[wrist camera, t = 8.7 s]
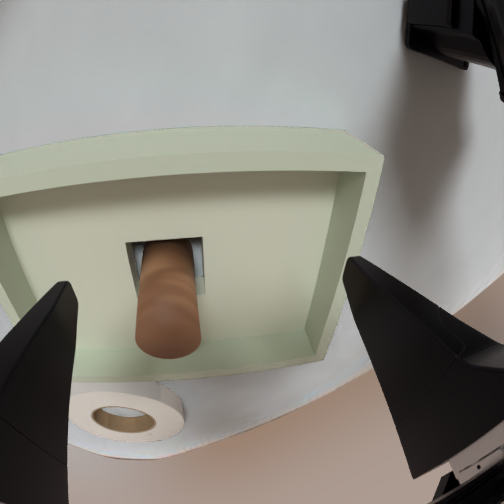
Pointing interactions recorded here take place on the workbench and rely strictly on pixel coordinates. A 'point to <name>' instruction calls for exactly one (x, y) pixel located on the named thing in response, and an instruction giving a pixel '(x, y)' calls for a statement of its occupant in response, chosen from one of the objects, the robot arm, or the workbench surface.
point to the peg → (167, 300)
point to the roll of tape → (127, 396)
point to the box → (186, 226)
